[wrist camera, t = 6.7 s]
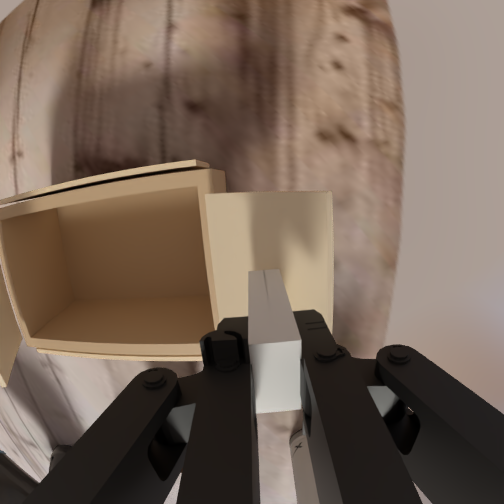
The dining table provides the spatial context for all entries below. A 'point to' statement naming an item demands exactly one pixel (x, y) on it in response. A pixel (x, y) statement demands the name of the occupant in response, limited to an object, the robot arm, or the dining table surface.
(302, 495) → the travel mug
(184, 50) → the dining table surface
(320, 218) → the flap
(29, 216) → the carton
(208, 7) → the dining table surface
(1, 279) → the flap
